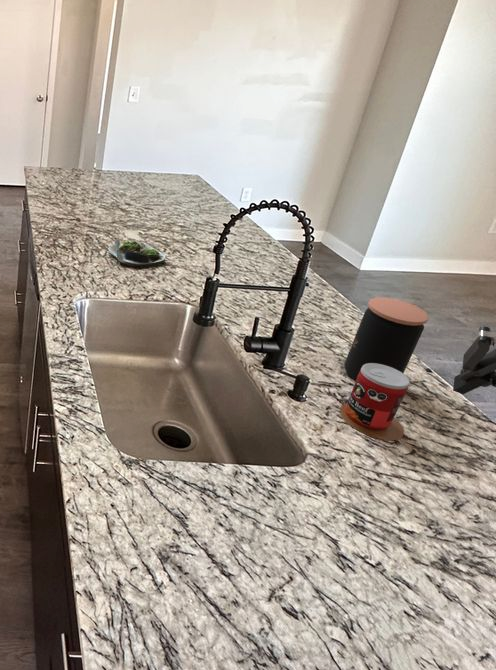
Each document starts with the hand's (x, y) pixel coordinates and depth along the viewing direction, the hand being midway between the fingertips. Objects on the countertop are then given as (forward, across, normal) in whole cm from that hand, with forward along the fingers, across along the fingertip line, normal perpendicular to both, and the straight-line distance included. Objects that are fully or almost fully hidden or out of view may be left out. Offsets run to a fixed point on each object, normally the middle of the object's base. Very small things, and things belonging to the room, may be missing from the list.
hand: (458, 385), depth 91 cm
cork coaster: (+21, -4, -2) cm, 21 cm away
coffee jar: (+31, -2, +12) cm, 33 cm away
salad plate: (+60, -63, +40) cm, 96 cm away
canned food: (+21, -4, -2) cm, 22 cm away
